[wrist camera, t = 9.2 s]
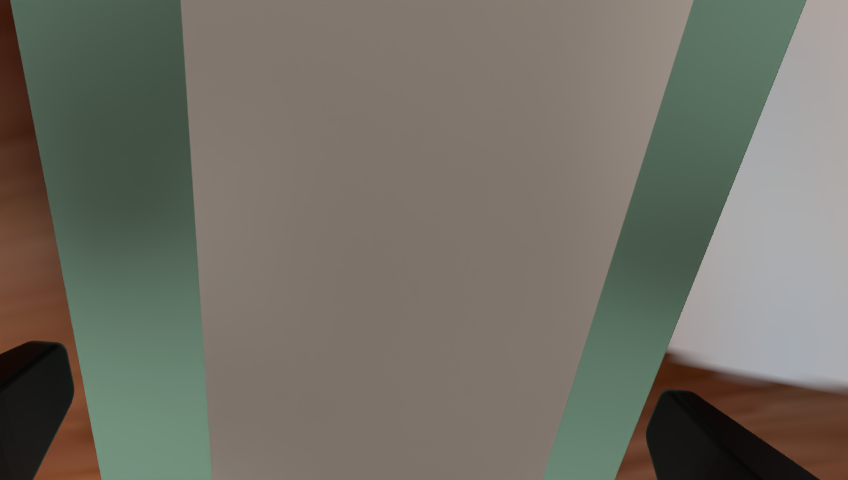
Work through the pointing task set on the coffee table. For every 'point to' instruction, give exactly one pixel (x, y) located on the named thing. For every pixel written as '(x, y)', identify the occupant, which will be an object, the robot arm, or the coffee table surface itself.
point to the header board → (176, 234)
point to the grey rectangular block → (409, 222)
